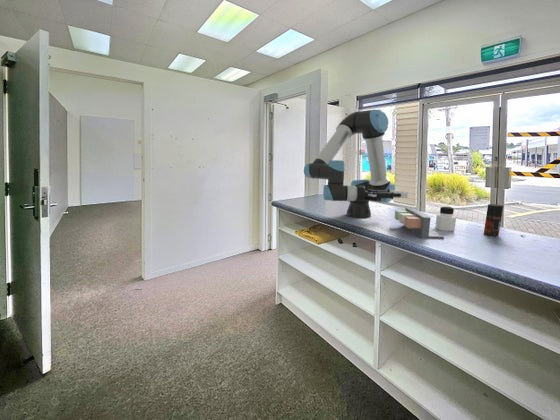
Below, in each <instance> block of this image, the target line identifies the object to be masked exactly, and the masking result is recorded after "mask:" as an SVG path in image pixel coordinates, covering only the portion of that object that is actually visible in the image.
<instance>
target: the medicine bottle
mask: <svg viewBox="0 0 560 420" xmlns="http://www.w3.org/2000/svg"><path fill="white" fill-rule="evenodd" d="M439 210H440V211H439V214H436V216H435V217H436V218H435V228H436V229H437V230H439V231H444V232H445V231H446V232H455V228H456V223H457V222H456V221H457V217H455V216H454V212H455V211H454V210H455V209H454V207H452V206H445V205H444V206H440V209H439Z"/></svg>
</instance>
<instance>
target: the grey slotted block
mask: <svg viewBox="0 0 560 420" xmlns="http://www.w3.org/2000/svg"><path fill="white" fill-rule="evenodd" d="M404 209H405V211H410V214H415V215H416V217H421V218H422V224H421V228H407V229H408V230H409V231H411V232H413V234H415V235H417V236H418V237H420V238H421V239H439V240H442V239H445V236H443V235H442V234H440V233H439V232H437V231H435V230H433V229H432V228H430V225H431V216H428V215H426V214H424V213H422V212H420V210H419V211H418V210H416V209H414V208H412V207H405V208H404ZM403 226H404V227H406V226H405V224H403Z"/></svg>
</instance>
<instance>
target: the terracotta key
mask: <svg viewBox="0 0 560 420" xmlns="http://www.w3.org/2000/svg"><path fill="white" fill-rule="evenodd" d="M421 224H422V218H421V217H405V226H404V227H406V228H407V229H408V228H421Z"/></svg>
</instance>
